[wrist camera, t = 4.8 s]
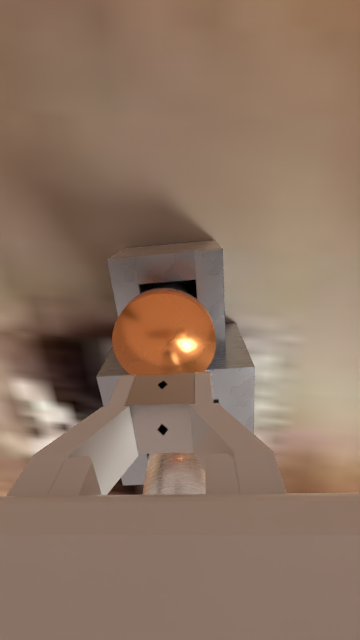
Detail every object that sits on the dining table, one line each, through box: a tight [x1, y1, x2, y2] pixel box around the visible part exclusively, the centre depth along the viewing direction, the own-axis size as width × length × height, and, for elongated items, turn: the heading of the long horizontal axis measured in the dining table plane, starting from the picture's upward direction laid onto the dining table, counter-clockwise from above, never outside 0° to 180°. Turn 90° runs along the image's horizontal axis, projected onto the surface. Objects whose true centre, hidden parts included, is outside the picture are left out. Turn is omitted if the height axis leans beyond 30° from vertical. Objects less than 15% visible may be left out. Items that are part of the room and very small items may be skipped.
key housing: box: [107, 240, 226, 353], centre depth 20 cm, size 7×7×5 cm
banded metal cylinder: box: [143, 453, 206, 495], centre depth 17 cm, size 4×4×14 cm
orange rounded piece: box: [112, 280, 216, 375], centre depth 17 cm, size 5×5×9 cm
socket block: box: [96, 323, 255, 485], centre depth 22 cm, size 10×10×7 cm
